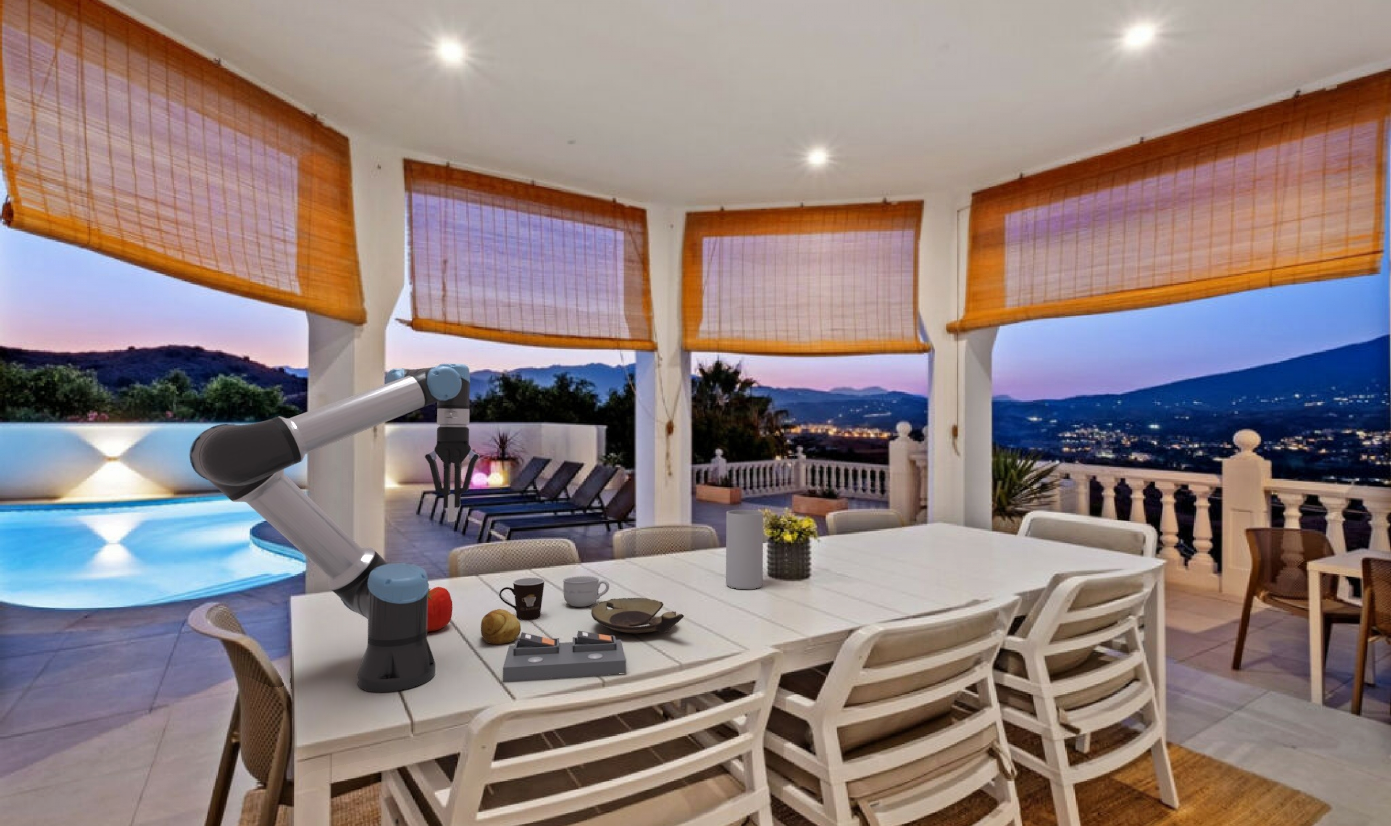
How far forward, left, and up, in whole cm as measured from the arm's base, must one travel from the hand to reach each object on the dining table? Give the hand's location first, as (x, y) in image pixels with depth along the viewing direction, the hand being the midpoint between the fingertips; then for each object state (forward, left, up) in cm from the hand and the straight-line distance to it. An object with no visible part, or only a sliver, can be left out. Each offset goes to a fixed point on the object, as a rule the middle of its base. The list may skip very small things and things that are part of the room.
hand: (451, 520), depth 162 cm
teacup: (+45, -3, -31) cm, 55 cm away
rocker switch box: (+6, -34, -30) cm, 46 cm away
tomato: (+3, +15, -31) cm, 34 cm away
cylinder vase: (+94, -30, -31) cm, 103 cm away
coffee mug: (+26, +3, -31) cm, 40 cm away
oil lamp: (+35, -31, -31) cm, 56 cm away
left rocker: (+4, -27, -26) cm, 38 cm away
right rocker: (+13, -37, -26) cm, 47 cm away
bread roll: (+10, -7, -31) cm, 33 cm away
